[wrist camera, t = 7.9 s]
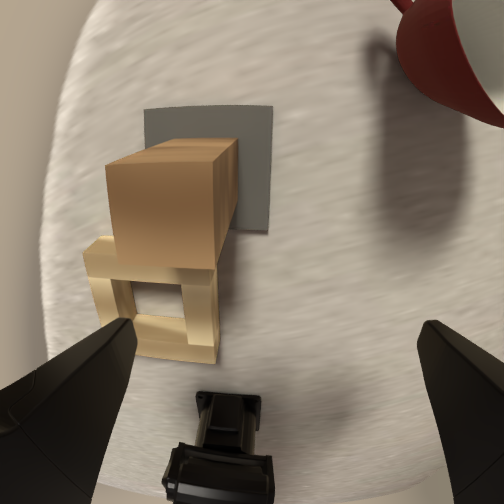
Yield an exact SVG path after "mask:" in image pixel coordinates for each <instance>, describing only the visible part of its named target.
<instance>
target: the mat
mask: <svg viewBox="0 0 504 504" xmlns="http://www.w3.org/2000/svg"><path fill="white" fill-rule="evenodd" d="M272 110H273V106H254V105H213V106H185V107H169V108H156V109H145V110H144V132H145V149H147V148H150V147H152V146H155V145H158V144H161V143H164V142H166V141H169V140H172V139H181V138H238V201H237V204H236V207H235V210H234V213H233V216H232V219H231V222H230V225H229V228H228V229H241V230H267V231H268V218H269V194H270V168H271V141H272Z"/></svg>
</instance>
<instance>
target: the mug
mask: <svg viewBox="0 0 504 504" xmlns="http://www.w3.org/2000/svg"><path fill="white" fill-rule="evenodd" d="M390 1H391V2H392V3H393V4H394V5H395V6H396V7H397V9H398V10H399V11H400V12H401V13H402V14H403V16H402V19H401V21H400V24H399V27H398V30H397V36H396V49H397V55H398V59H399V62H400V64H401V67H402V69H403V71H404V72H405V74H406V75H407V77H408V78H409V80H410V81H411V82H412V83H413V85H414V86H415V87H416V88H417V89H418V90H420V91H421V92H422V93H423V94H424V95H426V96H427V97H429V98H430V99H432V100H434V101H436V102H438V103H440V104H442V105H445V106H447V107H449V108H452V109H454V110H457V111H459V112H461V113H463V114H466V115H468V116H470V117H472V118H475V119H477V120H479V121H482V122H484V123H487V124H490V125H493V126H496V127H500V128H504V0H415V1H414V3H413V2H412V0H390Z"/></svg>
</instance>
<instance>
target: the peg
mask: <svg viewBox="0 0 504 504" xmlns="http://www.w3.org/2000/svg"><path fill="white" fill-rule="evenodd" d="M105 170H106V181H107V190H108V199H109V207H110V215H111V222H112V229H113V235H114V242H115V248H116V253H117V259H118V264H123V265H140V266H157V267H174V268H193V269H213V270H215V269H216V266H217V262H218V259H219V256H220V253H221V250H222V247H223V244H224V240H225V237H226V234H227V231H228V228H229V225H230V222H231V219H232V216H233V213H234V210H235V207H236V204H237V201H238V138H181V139H172V140H169V141H166V142H164V143H161V144H158V145H155V146H152V147H150V148H147V149H144V150H142V151H139V152H137V153H134V154H132V155H129V156H126V157H124V158H122V159H119V160H117V161H114V162H112V163H109V164H107V165H105Z"/></svg>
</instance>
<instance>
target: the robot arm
mask: <svg viewBox="0 0 504 504" xmlns="http://www.w3.org/2000/svg"><path fill="white" fill-rule="evenodd" d="M137 345H138V340H137V336H136V332H135V328H134V325H133V322H132V320H131V319H130V318H124V317H118V318H116V319H115V320H113V321H112V322H110V323H108V324H107V325H105V326H103V327H102V328H100V329H99V330H97V331H95V332H94V333H92V334H91V335H89V336H87V337H86V338H84V339H83V340H81V341H79V342H78V343H76V344H75V345H73V346H71V347H70V348H68V349H67V350H65V351H64V352H62V353H60V354H59V355H57V356H56V357H54V358H52V359H51V360H49V361H48V362H46V363H45V364H43V365H41V366H40V367H38V368H37V369H36V370H34V371H32V372H31V373H29V374H27V375H26V376H24V377H23V378H21V379H19V380H17V381H16V382H14V383H12V384H11V385H9V386H7V387H5V388H3V389H2V390H0V504H91V501H92V499H91V498H92V496H93V493H94V489H95V486H96V482H97V479H98V475H99V472H100V468H101V465H102V462H103V459H104V455H105V452H106V449H107V446H108V443H109V439H110V436H111V433H112V430H113V427H114V424H115V421H116V418H117V415H118V412H119V409H120V407H121V404H122V401H123V398H124V395H125V392H126V389H127V386H128V382H129V378H130V374H131V370H132V366H133V362H134V357H135V353H136V349H137ZM417 350H418V354H419V358H420V363H421V367H422V372H423V377H424V381H425V386H426V389H427V393H428V396H429V399H430V403H431V406H432V409H433V413H434V416H435V420H436V423H437V427H438V431H439V435H440V438H441V442H442V446H443V450H444V455H445V459H446V463H447V468H448V472H449V477H450V482H451V487H452V492H453V497H454V498H453V499H454V504H504V363H503V362H502V361H500V360H499V359H497V358H496V357H494V356H493V355H491V354H489V353H488V352H486V351H485V350H483V349H482V348H480V347H479V346H477V345H476V344H474V343H473V342H471V341H470V340H468V339H466V338H465V337H463V336H462V335H460V334H459V333H457V332H456V331H454V330H452V329H451V328H449V327H448V326H446V325H444V324H443V323H441V322H440V321H438V320H427V321H425V322H424V324H423V327H422V329H421V332H420V335H419V338H418V341H417ZM196 402H197V407H198V413H199V418H200V422H199V427H198V432H197V437H196V442H195V446H193V445H188V444H185V443H183V442H179V445H178V447H177V448H173V449H172V452H171V457H170V460H169V464H168V466H167V468H166V471H165V473H164V476H163V478H162V485H163V486H164V487H165V489H166V493H167V500H168V501H172V502H173V504H273V503H274V497H275V483H274V473H273V463H272V456H269V455H266V456H260V455H254V446H255V431H258V430H259V423H260V410H261V397H260V396H257V395H239V394H225V393H213V392H203V391H198V392H197V393H196Z"/></svg>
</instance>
